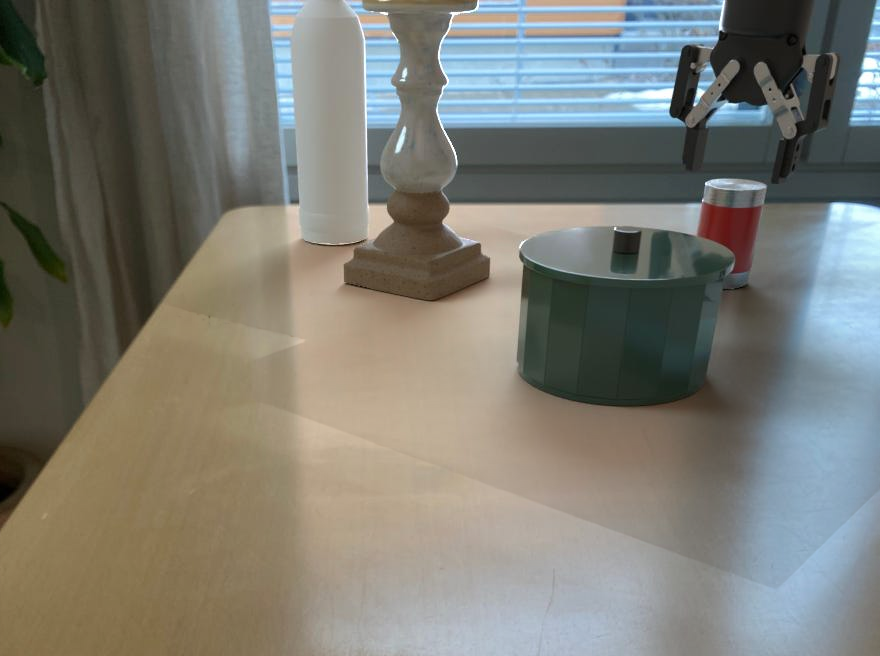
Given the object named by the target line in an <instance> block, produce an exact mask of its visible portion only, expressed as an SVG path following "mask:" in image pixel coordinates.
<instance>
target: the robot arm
mask: <svg viewBox="0 0 880 656" xmlns="http://www.w3.org/2000/svg"><path fill="white" fill-rule="evenodd" d="M815 3H816V0H723V2H722V8H721V13H720V19H719V25H718V37H717V40H716V43H715V45H714V46H713V47H710V46H705V45H704V43H701V42H699V43H697V42H696V43H695V42H694V43H690V44H686V45H684V46H683V47H682V49H681V50H680V55H679V60H678V66H677V70H676V74H675V80H674V86H673V90H672V95H671V101H670V105H669V110H668V114H669V116H670V117H671V118H672V119H677V120H679V121H680V122H682V123H683V124H684V125H685V127H686V128H685V129H686V132H685V137H684V144H683V151H682V156H681V160H682V165H685V172H687V173H693V174H694V173H698V172H701V170H702V168H703V165H704V159H705V153H706V147H707V143H708V142H707V141H708V135H709V131H710V127H708V126H707V123H709V121H710V120H711V119H712V117H713V116H714V115H715V114H716V113H717V112H718V111H719V109H720V108H722V107H723V106H724V105H725V104H735V105H736V104H741V103H746V104H748V105H751V106H753V107H763V106H768V108H769V111H770V113H771V114H772V117H774V118H775V119H776V121H777V124H778V126H779V128H780V131H781V133H782V136H783V138H780V139H779V141H778V145H777V151H776V154H775V160H774V165H773V169H772V173H771V178H770V183H771V185H772V184H773V185H783V184H785V183H787V181H788V178H792V177H793V175H794V174H795V172H796V169H797V166H798V161H799V156H800V152H801V148H802V144H803V140H804V138H805V137H806V136H807V135H811V134H814V133H818V132H821V131H824V130H825V129H827V128H828V126H829V124H830V118H831V112H832V107H833V103H834V102H833V101H834V97H835V90H836V85H837V80H838V75H839V68H840V63H841V55H840V54H839V52H835V51H833V52H827V53H822V54H808V53H807V47H806V42H807V37H808V34H809V30H810V27H811V22H812V17H813V12H814V8H815ZM708 64H710V66H711V70H712V72H713V75H714V77H715V80H714V81H713V82H712V83H711V84H710V85H709V87H707V89H706V90H705V92H703V94H702V95H701V96H700V98H699V101H698V102H697V104H695V101H696V96H697V91H698V87H699V82H700V77H701V73H703V72H704V71H705V70H706V68H707V66H708ZM804 70H805V71H806V78H807V81H808V82H809V83H810V84H811V87H810V92H809V97H808V98H809V99H808V103H807V110H806V115H805V117H804V115H803V112H802V110H801V108H800V106H801V102H800V99H799V97H798V95H797V92H796V89H795V87H794V85H793V83H794V82H795V80H796V79H797V78H798V77H799V76H800V75H801V73H802V72H803V71H804Z"/></svg>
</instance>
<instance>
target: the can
mask: <svg viewBox="0 0 880 656" xmlns="http://www.w3.org/2000/svg"><path fill="white" fill-rule="evenodd" d="M767 189H768V185H767V183H766V184H765V183H763V182H761V181H757V180H751V179H746V178H745V179H743V178H716V179H710V180H708V181H706V182H705V185H704V191H703V196H702V200H701V205H700V211H699V218H698V222H697V230H696V234H695V236H698V237H702V238H705V239H709V240H711V241H714V242H717V243H719V244H721V245H723V246H725V247H726V248H728V249H729V250H731V251H732V252H733V254H734V256H735V264H734V268H733V270H732V271H731V272H730V273H729V274H728V275H726V276H725V279H724V284H723V289H729V290H735V289H734V288H739V287H743V286H745V285H746V284H747V283H749V278H750V274H751V273H750V272H751V269H752V267H753V260H754V255H755V250H756V246H757V241H758V237H759V231H760V225H761V221H762V217H763V211H764V205H765V198H766V195H767ZM747 285H748V284H747ZM747 285H746V286H747ZM746 286H745V287H746ZM732 288H733V289H732ZM743 288H744V287H743ZM739 289H740V288H739Z"/></svg>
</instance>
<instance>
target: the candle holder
mask: <svg viewBox="0 0 880 656" xmlns="http://www.w3.org/2000/svg"><path fill="white" fill-rule="evenodd" d="M361 7H362V9H363V10H364V11H367V12H369V13H379V14H383V15H386V17H387V19H388V23H389V28H390V30H391V33H392V34H393V36H394V37H395V39H396V41H397V43H398V48H399V51H400V52H399V54H400V56H399V62H398V65H397V68H396V70H395V72H394V74H393V75H392V77H391V78H390V84H391V85H392V86H393V87H394V88H395V90H396V91H395V94H396V95H397V97H398V100H399V103H400V115H399V117H398V120H397V123H396V125H395V127H394V129H393V132H392V133H391V135H390V137H389V139H388V140H387V142H386V144H385V146H384V148H383V151H382V153H381V156H380V161H379V168H380V173H381V176H382V177H383V179H384V180H385V182H386V183H387V184H388V185H390V186H391V187H392V188H394V192H393V193H392V194H391V196H389V199H388V200H387V203H386V211H387V214H388V215H389V217H390V218H391V219H392V221H393V222H392V223H391V224H389V225H388V226H387V227H385V228H384V229H383V230H381V232H380V233H379V234H378V235H377V236H376V238H374V239H371V240H368V241H366V242H364V243H363V242H362V243H361V244H359V245H357V246H355V247H354V249H353V250H352V252H353V257H352V258H351V259H350V260H348V261H347V262H345V263H344V264H343V283H344V282H346V283H345V284H347V283H350V284H349V285H351V284H354V285H353V286H355V285H358V286H357V287H360V286H363V287H362V288H364V287H367V288H366V289H369V288H370V289H369V290H376V291H379V292H385V293H388V294H389V293H390V294H394V295H398V296H399V295H400V296H403V297H408V298H414V299H419V300H425V301H436V300H438V299H441V298H444V297H446V296H449V295H450V294H454V293H456V292H458V291H461V290H462V289H465V288H467V287H469V286H471V285H474V284H476V283H479V282H481V281H483V280H486V279H487V278H489V277H490V276H491V257H490V256H488V255H486V254H484V253H483V252H482V244H481V243H480V241H477V240H473V239H468V238H464V237H460V236H459V235H458V234H457V233H456V232H455V231H454V230H453V229H452V228H450V227H449V226H448V225H446V224H445V223H444V222H443V221H444V220H445V218H446V217H447V216H448V214H449V213H450V208H451V207H450V206H451V204H450V201H449V199H448V198H447V195H445V194H444V192H443V189H444V188H445V187H447V186H448V185H449V184H450V183H451V182H452V181H453V180H454V178H455V176H456V174H457V170H458V159H457V155H456V151H455V148H454V147H453V145H452V142H451V141H450V139H449V137H448V135H447V133H446V131H445V130H444V127H443V124H442V123H441V120H440V117H439V113H438V104H439V101H440V99H441V97H442V95H443V92H444V91H443V90H444V88H445V87H446V86H447V85H448V84H449V79H448V76H447V75H446V74H445V72H444V70H443V67H442V64H441V61H440V51H441V46H442V43H443V40H444V38H445V37H446V35H447V34H448V32H449V31H450V29H451V24H452V19H453V18H454V16H455V15H458V14H460V13H461V14H462V13H463V14H464V13H471V12H474V11H476V10H478V8H479V0H361Z"/></svg>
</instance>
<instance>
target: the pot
mask: <svg viewBox="0 0 880 656" xmlns="http://www.w3.org/2000/svg"><path fill="white" fill-rule="evenodd" d="M521 275H522V277H521V292H520V307H519V321H518V332H517V333H518V335H517V348H516V349H517V350H516V362H517V369H518V370H517V371H518V374H519V375H520V376H521V378H522V379H523V380H524V381H525V382H526V383H528V384H529V385H531V386H532V387H534V388H536V389H538V390H540V391H542V392H545V393H547V394H550V395H553V396H555V397H559V398H563V399H566V400H571V401H576V402H580V403H586V404H592V405H593V404H594V405H604V406H619V407H637V406H653V405H660V404H666V403H671V402H675V401H680V400H682V399H684V398H687V397H690V396H692V395H694V394H696V393H697V392H698V391H699V390H701V389H702V387H703V386H704V385H705V383H706V379H707V375H708V370H709V363H710V360H711V359H710V358H711V354H712V348H713V344H714V338H715V332H716V327H717V321H718V315H719V311H720V305H721V301H722V295H723V291H724V290H723V284H724V279H725V276H724V277H723V278H720V279H718V280H715V281H711V282H708V283H704V284H699V285H693V286H686V287H676V288H660V289H631V288H613V287H603V286H594V285H587V284H580V283H575V282H569V281H565V280H561V279H557V278H553V277H550V276H547V275H544V274H541V273H539V272H536V271H534V270H532V269H530V268H528V267H527V266H526V265H524V264H523V263H522V274H521Z"/></svg>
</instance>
